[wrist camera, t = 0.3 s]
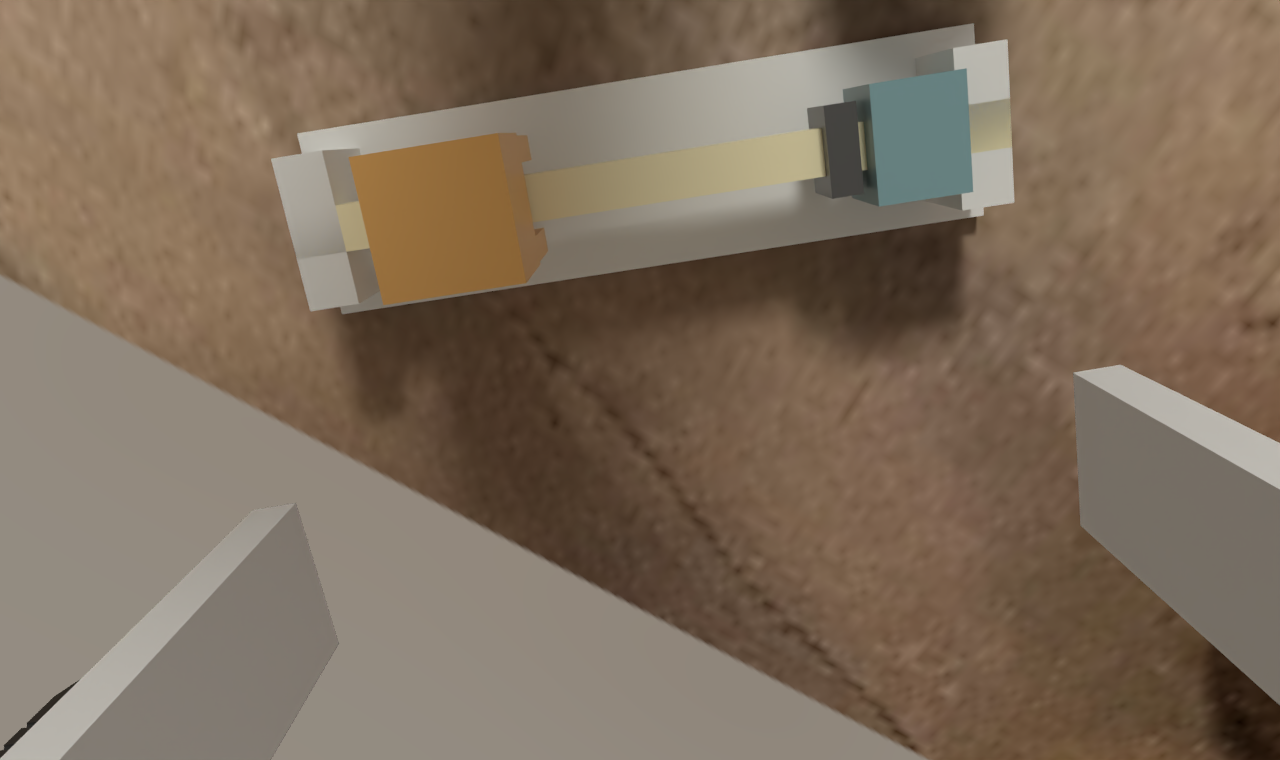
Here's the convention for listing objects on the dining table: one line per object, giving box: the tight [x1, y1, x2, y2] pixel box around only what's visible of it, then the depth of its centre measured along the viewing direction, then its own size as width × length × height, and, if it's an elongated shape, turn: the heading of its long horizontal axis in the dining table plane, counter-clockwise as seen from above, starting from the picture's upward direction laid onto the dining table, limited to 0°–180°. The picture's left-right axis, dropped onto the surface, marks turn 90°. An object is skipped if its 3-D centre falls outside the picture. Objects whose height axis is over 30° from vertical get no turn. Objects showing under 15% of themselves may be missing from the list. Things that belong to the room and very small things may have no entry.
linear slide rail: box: [271, 23, 1014, 314], centre depth 36 cm, size 8×29×7 cm, turn 99°
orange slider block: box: [349, 133, 548, 305], centre depth 34 cm, size 5×5×8 cm
